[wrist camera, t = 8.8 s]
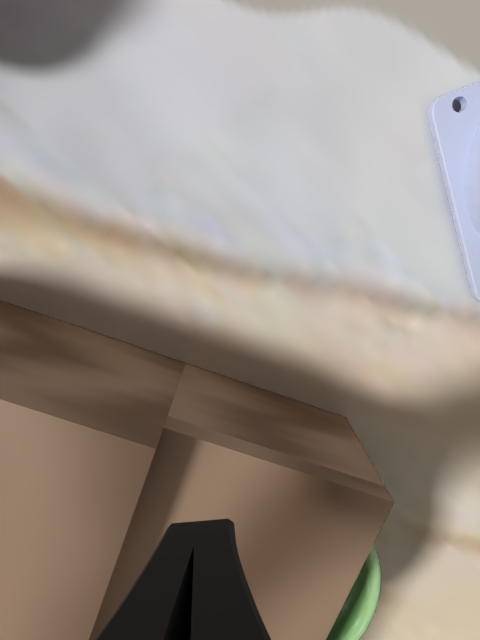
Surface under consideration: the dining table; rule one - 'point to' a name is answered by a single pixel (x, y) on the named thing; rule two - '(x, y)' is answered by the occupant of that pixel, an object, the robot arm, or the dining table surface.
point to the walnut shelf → (165, 482)
